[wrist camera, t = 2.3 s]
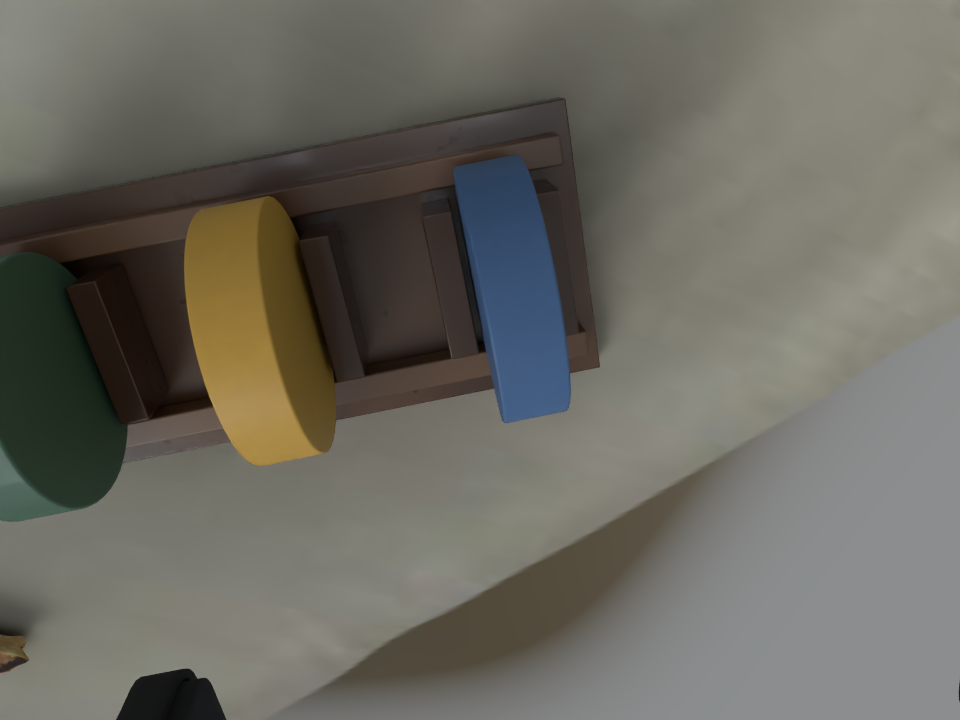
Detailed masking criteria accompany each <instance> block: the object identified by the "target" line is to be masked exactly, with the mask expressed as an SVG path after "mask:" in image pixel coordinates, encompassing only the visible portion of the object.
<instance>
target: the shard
mask: <svg viewBox="0 0 960 720" xmlns="http://www.w3.org/2000/svg"><path fill="white" fill-rule="evenodd" d="M26 640H27V639H26V638H25V637H22V636H6V635H1V634H0V673H4V672H7V671H10V670H12V669H13V668H15V667H17V666H19V665H21V664H23V663H26V662H27V661H28V660H29V658H28V657H27V656H26V655H25V653H24V651H23V649H22V648H23V647H24V646H25V644H26Z"/></svg>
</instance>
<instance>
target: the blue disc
mask: <svg viewBox="0 0 960 720" xmlns="http://www.w3.org/2000/svg"><path fill="white" fill-rule="evenodd" d="M453 177H454V184H455V191H456V197H457V203H458V209H459V215H460V220H461V226H462V231H463V237H464V242H465V248H466V253H467V258H468V264H469V269H470V274H471V279H472V284H473V289H474V295H475V300H476V305H477V310H478V314H479V319H480V324H481V329H482V334H483V339H484V344H485V348H486V353H487V358H488V362H489V367H490V372H491V376H492V381H493V385H494V390H495V394H496V398H497V402H498V406H499V410H500V414H501V417H502V420H503V422H504V423H510V422H515V421H520V420H524V419H529V418H534V417H539V416H544V415H549V414H554V413H559V412H564V411H566V410H567V409H568V408H569V404H570V395H571V383H570V367H569V356H568V347H567V339H566V332H565V325H564V318H563V312H562V306H561V300H560V294H559V288H558V283H557V278H556V273H555V268H554V263H553V258H552V253H551V249H550V244H549V240H548V236H547V231H546V227H545V223H544V219H543V215H542V212H541V208H540V204H539V201H538V197H537V194H536V191H535V188H534V185H533V182H532V179H531V176H530V174H529V171H528V169H527V167H526V165H525V163H524V161H523V159H522V158H521V157H520V156H519V155H512V156H507V157H502V158H497V159H491V160H486V161H481V162H476V163H471V164H466V165H461V166H456V167H454V169H453Z"/></svg>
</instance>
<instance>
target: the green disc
mask: <svg viewBox="0 0 960 720" xmlns="http://www.w3.org/2000/svg"><path fill="white" fill-rule="evenodd" d="M76 280H78V279H77V278H76V277H75V276H74V275H73V274H72V273H71V272H69V271H68V270H67V269H66V268H65V267H63V266H62V265H61V264H59V263H58V262H56V261H55V260H53V259H51V258H49V257H47V256H44V255H41V254H37V253H31V252H22V253H14V254H9V255H4V256H0V520H2V521H8V522H12V521H24V520H29V519H33V518H38V517H43V516H48V515H53V514H58V513H63V512H68V511H73V510H78V509H82V508H87V507H89V506H91V505H93V504H95V503H97V502H98V501H99V500H100V499H102V498H103V497H104V496H105V495H106V494H107V493H108V491H109V490H110V489H111V487H112V486H113V484H114V482H115V481H116V479H117V476H118V474H119V472H120V469H121V466H122V463H123V459H124V455H125V450H126V443H127V434H128V424H123V425H122V424H121V423H120V421H119V418H118V416H117V413H116V411H115V408H114V406H113V403H112V401H111V398H110V396H109V393H108V391H107V389H106V386H105V384H104V381H103V379H102V376H101V374H100V371H99V369H98V366H97V364H96V362H95V359H94V357H93V354H92V352H91V349H90V347H89V344H88V342H87V339H86V337H85V334H84V332H83V330H82V327H81V325H80V322H79V320H78V317H77V315H76V312H75V310H74V307H73V305H72V303H71V300H70V298H69V295H68V293H67V290H66V287H67V286H68V285H70V284H71V283H73V282H74V281H76Z"/></svg>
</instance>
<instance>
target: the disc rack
mask: <svg viewBox="0 0 960 720" xmlns="http://www.w3.org/2000/svg"><path fill="white" fill-rule="evenodd" d="M512 155H519V156H520V157H521V158H522V159H523V161H524V163H525V165H526V167H527V169H528V171H529V174H530V176H531V179H532V182H533V185H534V188H535V191H536V194H537V197H538V201H539V204H540V208H541V212H542V215H543V219H544V223H545V227H546V231H547V236H548V240H549V244H550V249H551V253H552V258H553V263H554V268H555V273H556V278H557V283H558V288H559V294H560V300H561V306H562V312H563V318H564V325H565V332H566V339H567V347H568V356H569V367H570V373H573V372H578V371H583V370H588V369H593V368H598V367H600V363H599V355H598V348H597V340H596V332H595V325H594V317H593V309H592V302H591V294H590V286H589V278H588V271H587V263H586V255H585V248H584V240H583V232H582V225H581V217H580V209H579V201H578V194H577V186H576V178H575V171H574V163H573V155H572V147H571V140H570V132H569V124H568V117H567V109H566V101H565V99H564V98H555V99H550V100H545V101H539V102H534V103H529V104H524V105H519V106H514V107H509V108H504V109H499V110H494V111H488V112H483V113H478V114H473V115H468V116H463V117H458V118H453V119H448V120H443V121H438V122H432V123H427V124H422V125H417V126H412V127H407V128H402V129H397V130H392V131H387V132H382V133H376V134H371V135H366V136H361V137H356V138H351V139H346V140H341V141H336V142H331V143H326V144H320V145H315V146H310V147H305V148H300V149H295V150H290V151H285V152H280V153H275V154H269V155H264V156H259V157H254V158H249V159H244V160H239V161H234V162H229V163H224V164H219V165H213V166H208V167H203V168H198V169H193V170H188V171H183V172H178V173H173V174H168V175H163V176H157V177H152V178H147V179H142V180H137V181H132V182H127V183H122V184H117V185H112V186H107V187H101V188H96V189H91V190H86V191H81V192H76V193H71V194H66V195H61V196H56V197H51V198H45V199H40V200H35V201H30V202H25V203H20V204H15V205H10V206H5V207H0V256H4V255H9V254H14V253H22V252H31V253H37V254H41V255H44V256H47V257H49V258H51V259H53V260H55V261H56V262H58V263H59V264H61V265H62V266H63V267H65V268H66V269H67V270H68V271H69V272H71V273H72V274H73V275H74V276H75V277H76V278H77V279H78V280H76V281H74V282H73V283H71V284H70V285H68V286H67V287H66V290H67V293H68V295H69V298H70V300H71V303H72V305H73V307H74V310H75V312H76V315H77V317H78V320H79V322H80V325H81V327H82V330H83V332H84V334H85V337H86V339H87V342H88V344H89V347H90V349H91V352H92V354H93V357H94V359H95V362H96V364H97V366H98V369H99V371H100V374H101V376H102V379H103V381H104V384H105V386H106V389H107V391H108V393H109V396H110V398H111V401H112V403H113V406H114V408H115V411H116V413H117V416H118V418H119V421H120V423H121V424H122V425H123V424H128V434H127V443H126V450H125V455H124V459H123V463H126V462H131V461H136V460H141V459H146V458H151V457H155V456H160V455H165V454H170V453H175V452H180V451H185V450H190V449H195V448H200V447H205V446H210V445H215V444H220V443H225V442H230V439H229V437H228V436H227V434H226V432H225V431H224V429H223V426H222V424H221V422H220V420H219V418H218V416H217V414H216V412H215V409H214V407H213V404H212V402H211V400H210V397H209V394H208V391H207V388H206V386H205V383H204V380H203V376H202V373H201V370H200V366H199V363H198V359H197V355H196V351H195V347H194V343H193V338H192V333H191V328H190V323H189V316H188V310H187V302H186V292H185V277H184V253H185V243H186V237H187V232H188V228H189V225H190V223H191V220H192V218H193V217H194V215H195V214H196V213H197V212H199V211H200V210H201V209H205V208H210V207H215V206H220V205H225V204H230V203H235V202H240V201H245V200H251V199H256V198H261V197H266V196H270V197H273V198H275V199H276V200H277V201H278V202H279V203H280V204H281V205H282V207H283V208H284V210H285V211H286V213H287V214H288V216H289V218H290V219H291V221H292V223H293V225H294V227H295V229H296V232H297V234H298V236H299V241H298V243H299V247H300V251H301V254H302V258H303V261H304V265H305V269H306V272H307V276H308V279H309V283H310V287H311V290H312V294H313V297H314V301H315V305H316V308H317V312H318V315H319V319H320V323H321V326H322V330H323V334H324V337H325V341H326V344H327V348H328V352H329V355H330V359H331V362H332V367H333V375H334V385H335V399H336V420H339V419H344V418H349V417H354V416H359V415H364V414H369V413H374V412H379V411H384V410H389V409H394V408H399V407H404V406H409V405H414V404H419V403H424V402H429V401H434V400H439V399H444V398H449V397H454V396H459V395H464V394H469V393H474V392H479V391H484V390H489V389H494V385H493V381H492V376H491V372H490V367H489V362H488V358H487V353H486V348H485V344H484V339H483V334H482V329H481V324H480V319H479V314H478V310H477V305H476V300H475V295H474V289H473V284H472V279H471V274H470V269H469V264H468V258H467V253H466V248H465V242H464V237H463V231H462V226H461V220H460V215H459V209H458V203H457V197H456V191H455V184H454V177H453V169H454V167H456V166H461V165H466V164H471V163H476V162H481V161H486V160H491V159H497V158H502V157H507V156H512Z"/></svg>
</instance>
